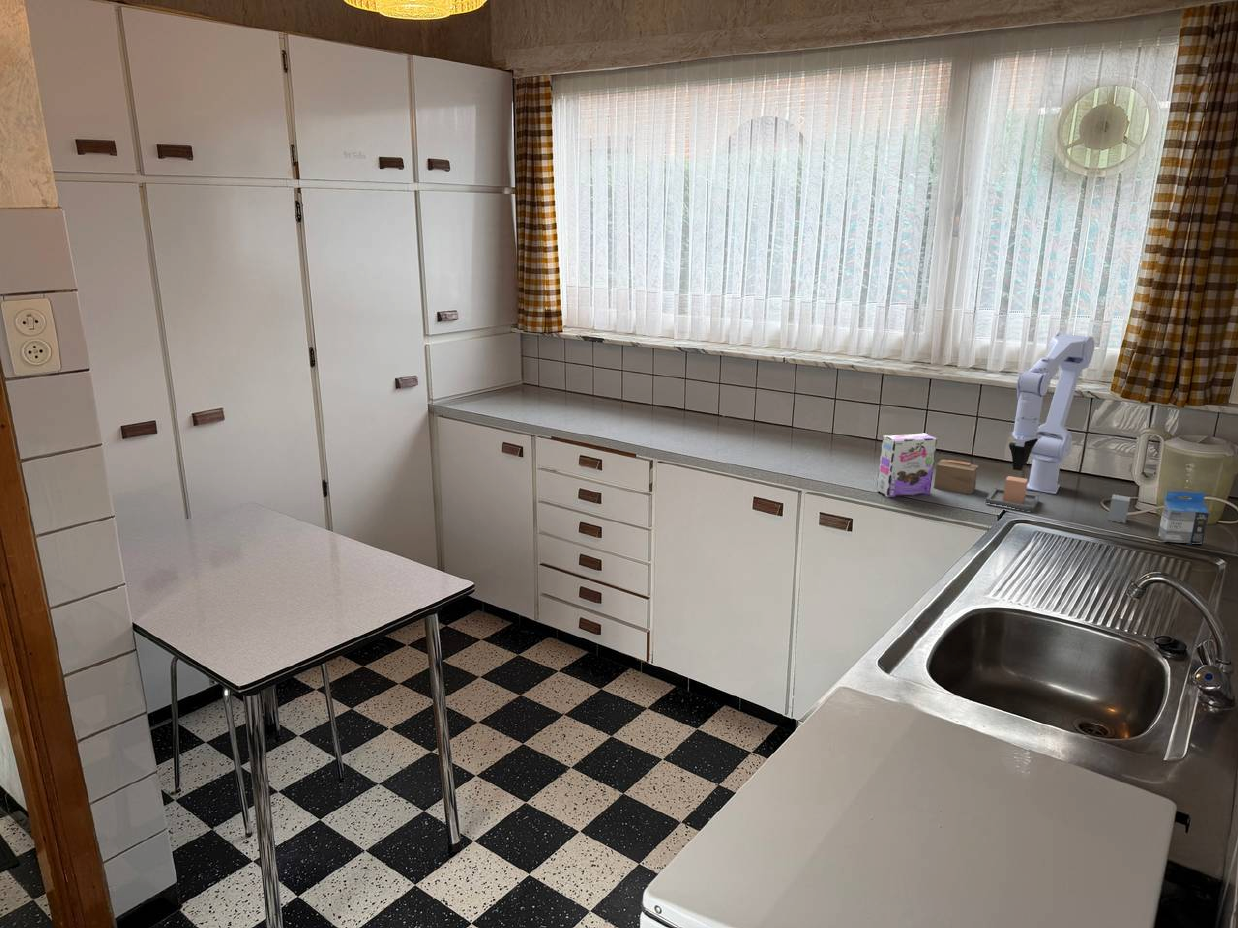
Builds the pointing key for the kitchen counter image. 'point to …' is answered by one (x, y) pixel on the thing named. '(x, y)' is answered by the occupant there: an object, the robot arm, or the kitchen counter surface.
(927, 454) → the candy box
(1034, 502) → the charcoal tray
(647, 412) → the kitchen counter surface
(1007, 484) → the terracotta block
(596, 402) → the kitchen counter surface
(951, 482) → the box
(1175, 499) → the label tape box
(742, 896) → the kitchen counter surface
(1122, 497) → the slate grey block
